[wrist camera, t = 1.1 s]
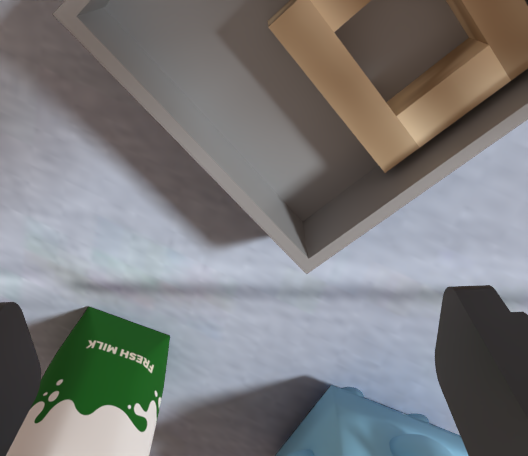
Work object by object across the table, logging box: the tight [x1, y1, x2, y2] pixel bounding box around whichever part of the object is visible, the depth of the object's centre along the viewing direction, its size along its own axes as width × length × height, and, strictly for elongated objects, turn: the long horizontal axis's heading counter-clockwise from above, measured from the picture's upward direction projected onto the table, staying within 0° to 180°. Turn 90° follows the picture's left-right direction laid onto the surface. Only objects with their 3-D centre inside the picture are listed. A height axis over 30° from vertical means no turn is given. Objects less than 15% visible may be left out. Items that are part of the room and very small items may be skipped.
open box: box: [53, 0, 528, 274], centre depth 28 cm, size 20×20×6 cm
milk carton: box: [6, 307, 170, 456], centre depth 34 cm, size 9×9×20 cm
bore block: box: [268, 0, 528, 173], centre depth 29 cm, size 11×11×3 cm
